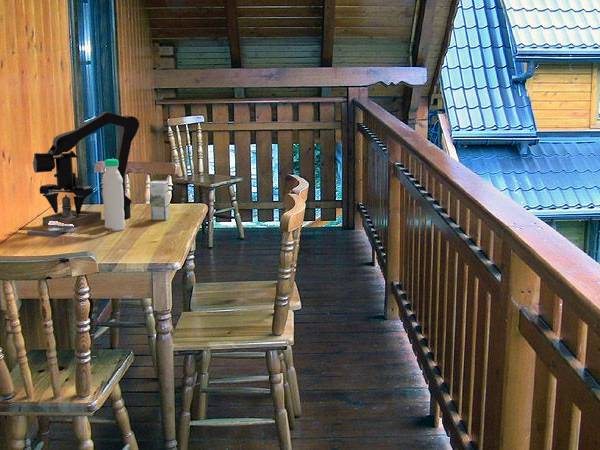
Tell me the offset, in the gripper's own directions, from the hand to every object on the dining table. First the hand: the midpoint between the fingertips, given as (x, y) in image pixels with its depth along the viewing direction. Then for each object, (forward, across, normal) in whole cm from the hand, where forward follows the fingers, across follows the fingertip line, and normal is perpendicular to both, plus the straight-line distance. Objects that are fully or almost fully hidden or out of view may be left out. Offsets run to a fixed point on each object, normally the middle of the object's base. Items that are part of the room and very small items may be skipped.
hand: (67, 213), depth 300 cm
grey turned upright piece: (+5, 0, 0) cm, 5 cm away
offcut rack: (+5, 0, -3) cm, 6 cm away
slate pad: (+5, 0, +11) cm, 12 cm away
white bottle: (+5, -19, -1) cm, 20 cm away
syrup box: (+5, -25, -23) cm, 34 cm away
